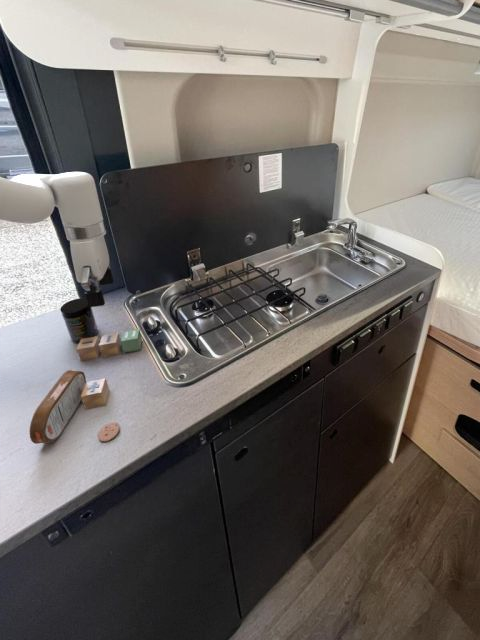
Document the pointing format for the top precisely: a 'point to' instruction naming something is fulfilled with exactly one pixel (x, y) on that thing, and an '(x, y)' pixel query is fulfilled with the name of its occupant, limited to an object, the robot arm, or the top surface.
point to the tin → (57, 407)
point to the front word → (95, 393)
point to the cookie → (108, 431)
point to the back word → (101, 346)
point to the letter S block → (131, 340)
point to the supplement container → (79, 319)
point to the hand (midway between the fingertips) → (102, 294)
